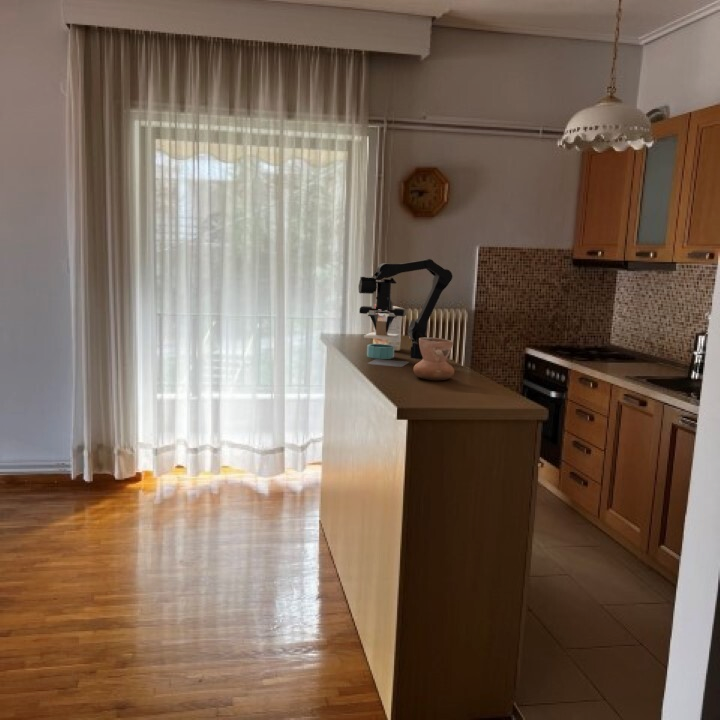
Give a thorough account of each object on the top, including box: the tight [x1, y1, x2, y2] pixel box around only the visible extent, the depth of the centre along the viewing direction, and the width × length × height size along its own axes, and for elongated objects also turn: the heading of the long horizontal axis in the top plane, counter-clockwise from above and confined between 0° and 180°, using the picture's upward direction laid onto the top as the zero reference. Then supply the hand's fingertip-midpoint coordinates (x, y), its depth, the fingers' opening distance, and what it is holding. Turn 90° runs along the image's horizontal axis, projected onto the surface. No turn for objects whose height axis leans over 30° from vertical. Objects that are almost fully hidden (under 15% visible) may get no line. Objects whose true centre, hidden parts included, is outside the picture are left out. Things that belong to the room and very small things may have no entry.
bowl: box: [366, 343, 395, 360], centre depth 295 cm, size 11×11×5 cm
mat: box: [366, 358, 410, 368], centre depth 280 cm, size 14×14×1 cm
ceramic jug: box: [413, 336, 455, 382], centre depth 251 cm, size 18×14×14 cm
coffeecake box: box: [372, 304, 403, 352], centre depth 323 cm, size 15×7×20 cm, turn 25°
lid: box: [363, 321, 399, 340], centre depth 293 cm, size 12×12×6 cm
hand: (381, 331), depth 293 cm, fingers closed on lid, 4 cm apart
